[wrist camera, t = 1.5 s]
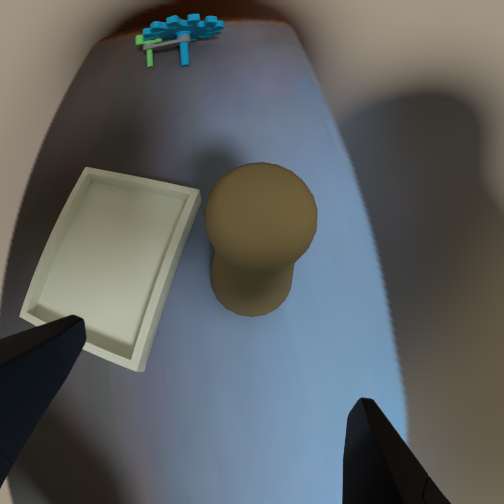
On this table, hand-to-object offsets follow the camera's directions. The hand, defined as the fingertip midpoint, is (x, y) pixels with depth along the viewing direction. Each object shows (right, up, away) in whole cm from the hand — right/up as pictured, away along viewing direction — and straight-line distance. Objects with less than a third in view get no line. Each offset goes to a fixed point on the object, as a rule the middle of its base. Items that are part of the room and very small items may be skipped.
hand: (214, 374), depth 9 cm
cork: (+1, +2, +15) cm, 15 cm away
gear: (-8, +29, +25) cm, 39 cm away
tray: (-10, +3, +14) cm, 18 cm away
